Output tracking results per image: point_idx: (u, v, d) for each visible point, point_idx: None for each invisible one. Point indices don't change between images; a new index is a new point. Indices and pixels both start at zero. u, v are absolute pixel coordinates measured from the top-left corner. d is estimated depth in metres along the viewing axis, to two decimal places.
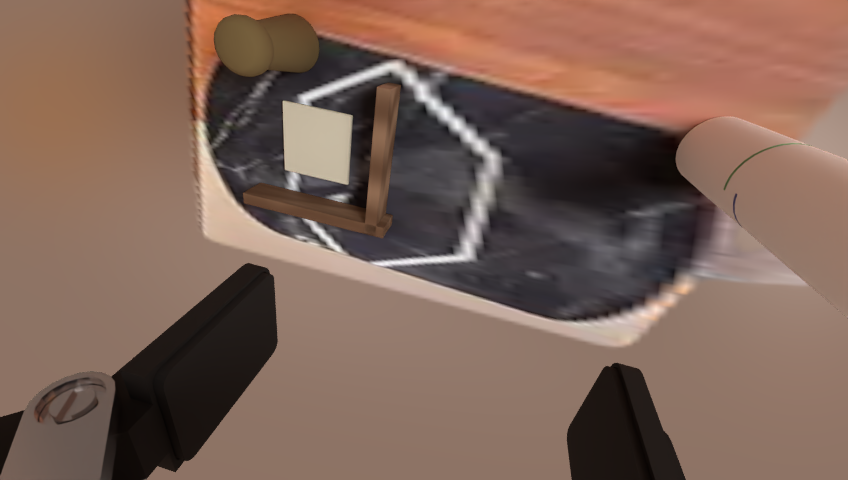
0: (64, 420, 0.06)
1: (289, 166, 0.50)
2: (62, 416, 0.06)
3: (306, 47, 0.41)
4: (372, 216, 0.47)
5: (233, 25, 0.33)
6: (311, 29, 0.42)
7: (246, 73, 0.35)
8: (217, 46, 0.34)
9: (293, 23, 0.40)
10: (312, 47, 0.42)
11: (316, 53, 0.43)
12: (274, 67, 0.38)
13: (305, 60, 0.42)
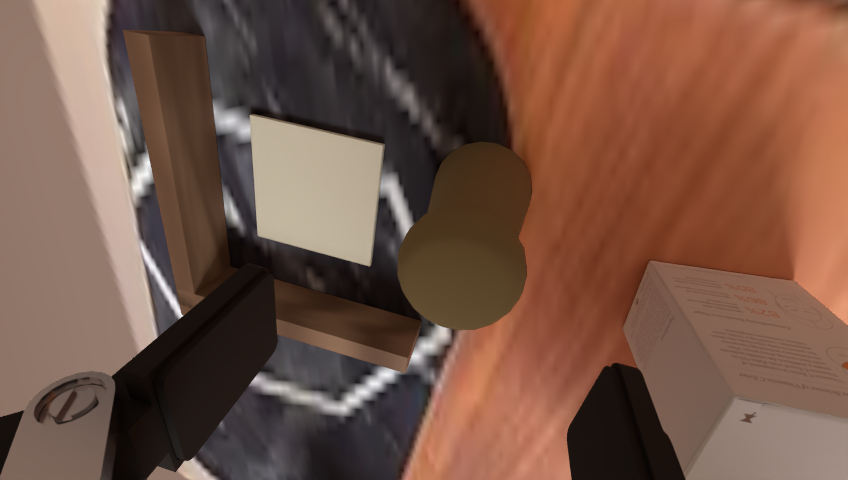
0: (64, 420, 0.06)
1: (259, 127, 0.24)
2: (62, 416, 0.06)
3: None
4: None
5: (500, 302, 0.14)
6: None
7: None
8: (457, 246, 0.13)
9: None
10: None
11: None
12: None
13: None
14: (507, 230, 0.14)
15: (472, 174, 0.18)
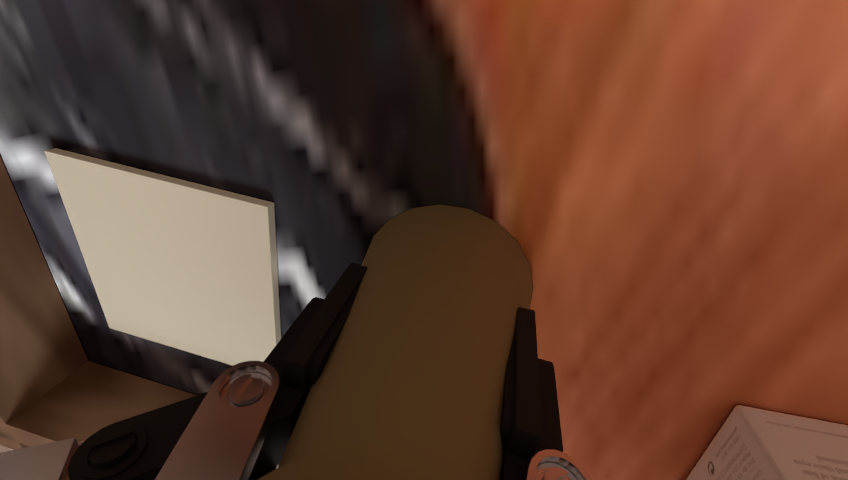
0: (235, 403, 0.07)
1: (65, 172, 0.14)
2: (235, 398, 0.07)
3: None
4: (34, 442, 0.18)
5: None
6: None
7: None
8: None
9: None
10: None
11: None
12: None
13: None
14: None
15: (405, 306, 0.08)
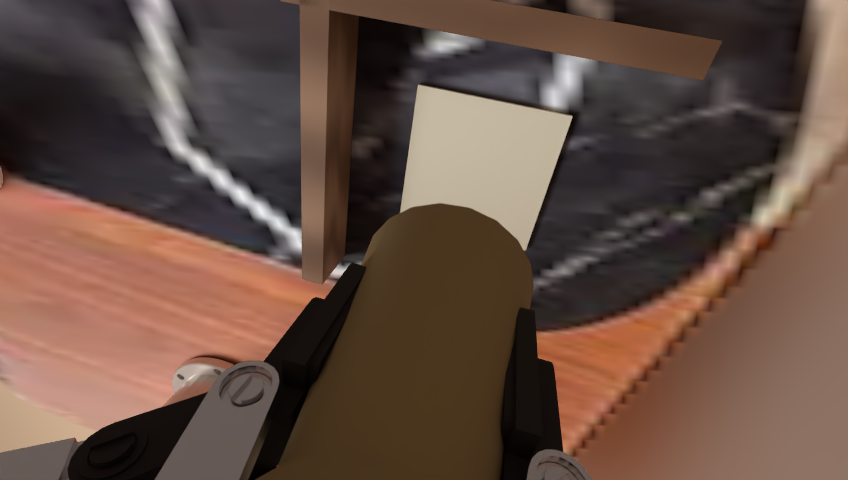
0: (235, 402, 0.07)
1: (556, 125, 0.21)
2: (235, 398, 0.07)
3: None
4: (312, 35, 0.19)
5: None
6: None
7: None
8: None
9: None
10: None
11: None
12: None
13: None
14: None
15: (405, 304, 0.08)
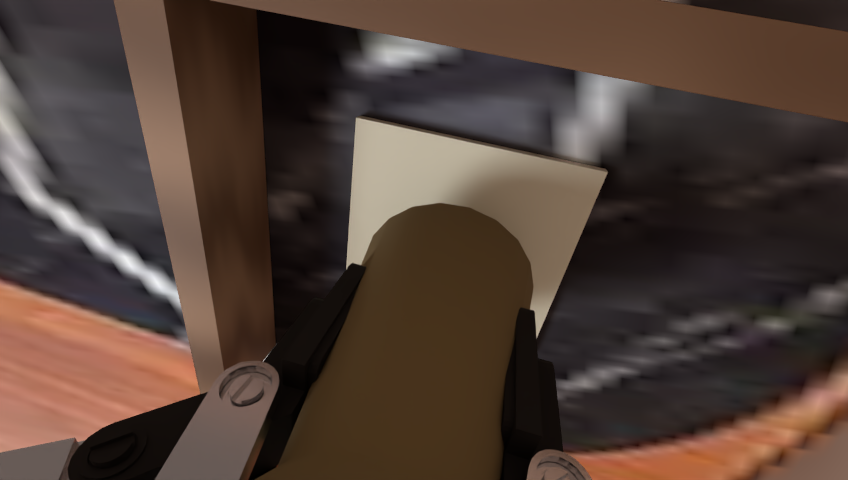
0: (235, 403, 0.07)
1: (580, 184, 0.13)
2: (235, 398, 0.07)
3: None
4: (142, 39, 0.10)
5: None
6: None
7: None
8: None
9: None
10: None
11: None
12: None
13: None
14: None
15: (405, 304, 0.08)
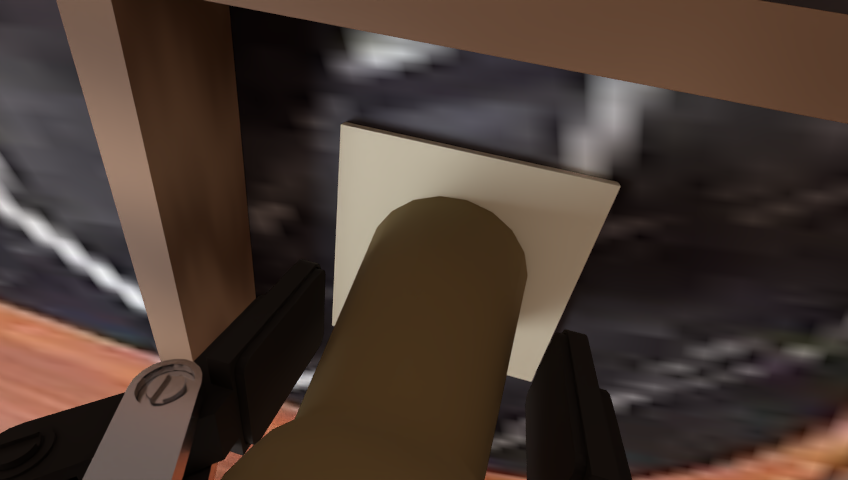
0: (156, 403, 0.07)
1: (589, 199, 0.12)
2: (155, 398, 0.07)
3: None
4: (89, 37, 0.09)
5: None
6: None
7: None
8: None
9: None
10: None
11: None
12: None
13: None
14: None
15: (406, 284, 0.09)
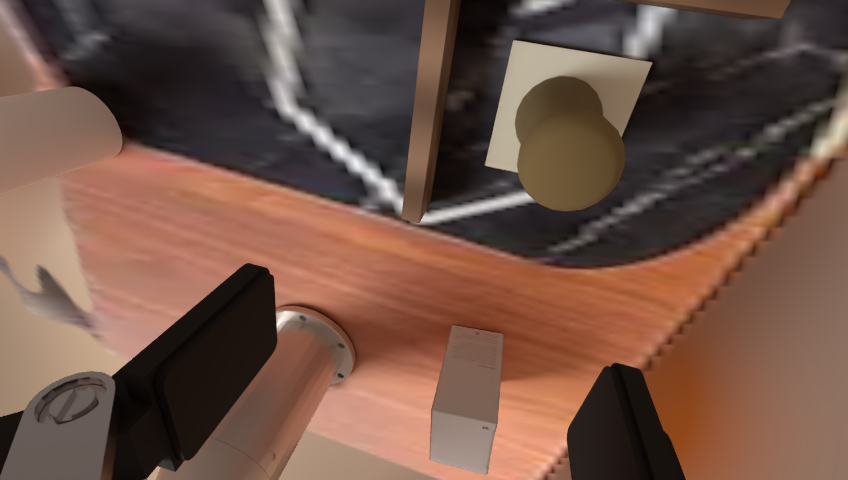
0: (64, 420, 0.06)
1: (636, 71, 0.25)
2: (62, 416, 0.06)
3: None
4: None
5: (607, 180, 0.18)
6: None
7: (523, 174, 0.19)
8: (578, 135, 0.17)
9: None
10: None
11: None
12: None
13: None
14: None
15: (564, 96, 0.22)
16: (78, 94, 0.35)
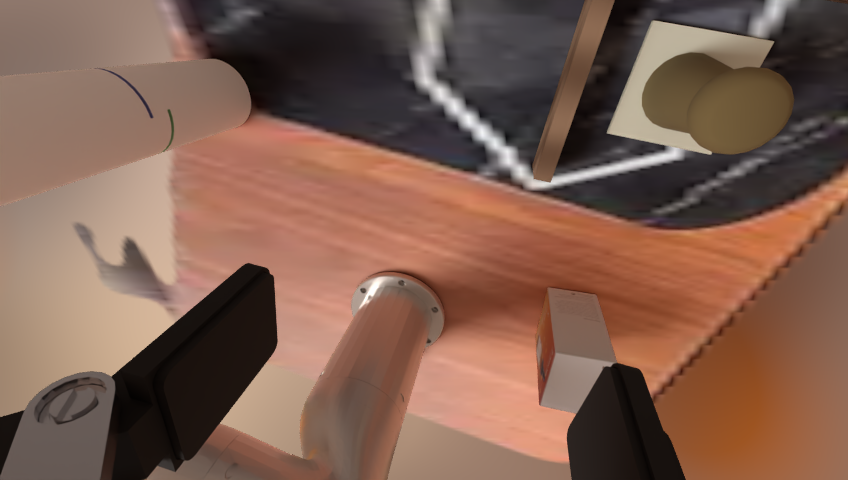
0: (64, 420, 0.06)
1: (759, 48, 0.29)
2: (62, 416, 0.06)
3: None
4: None
5: (780, 124, 0.22)
6: None
7: (702, 120, 0.23)
8: (762, 84, 0.21)
9: None
10: None
11: (662, 127, 0.33)
12: (680, 117, 0.27)
13: (661, 124, 0.31)
14: None
15: (713, 64, 0.27)
16: (221, 65, 0.38)
